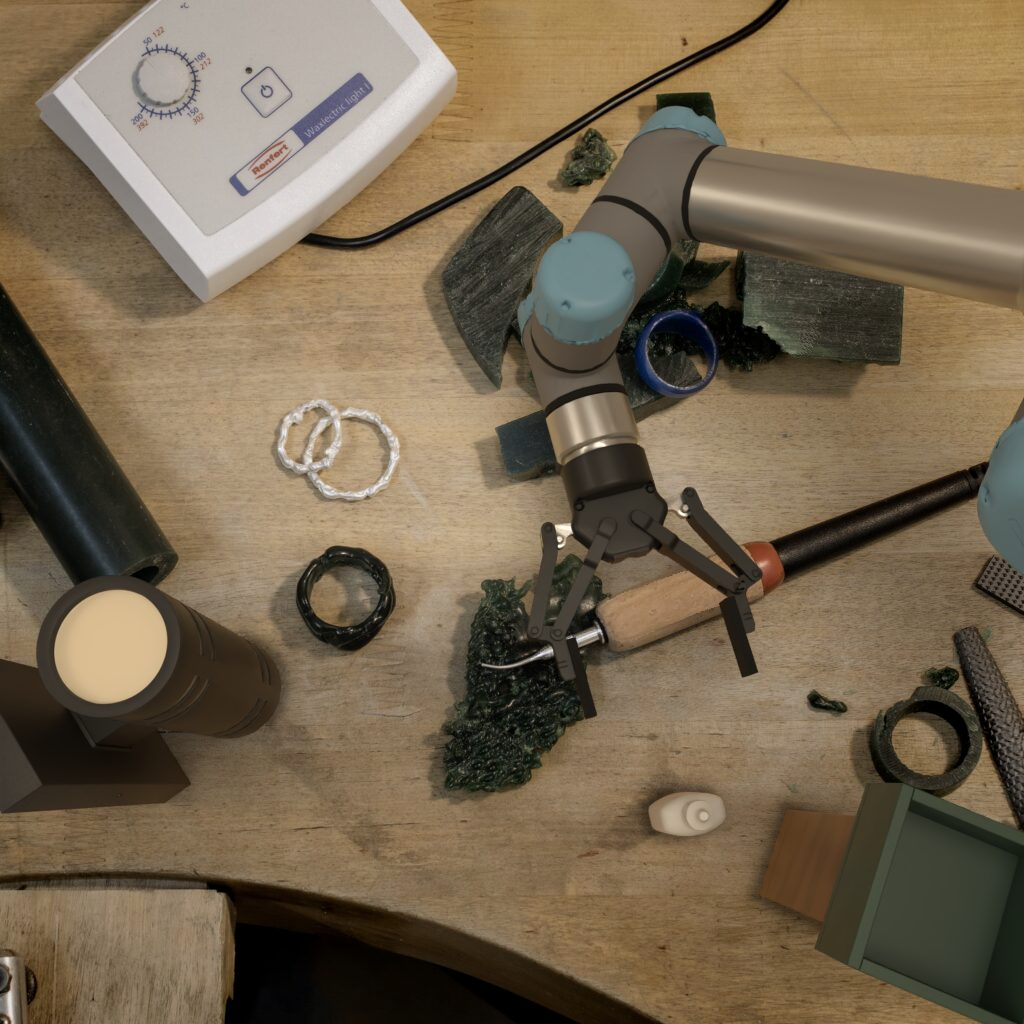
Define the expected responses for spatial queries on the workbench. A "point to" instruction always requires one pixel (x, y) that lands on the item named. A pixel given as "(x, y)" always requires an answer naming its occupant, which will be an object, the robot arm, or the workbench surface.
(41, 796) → the light fixture
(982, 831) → the waste bin
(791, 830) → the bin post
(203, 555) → the workbench surface
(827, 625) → the workbench surface
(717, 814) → the eye dropper bottle
